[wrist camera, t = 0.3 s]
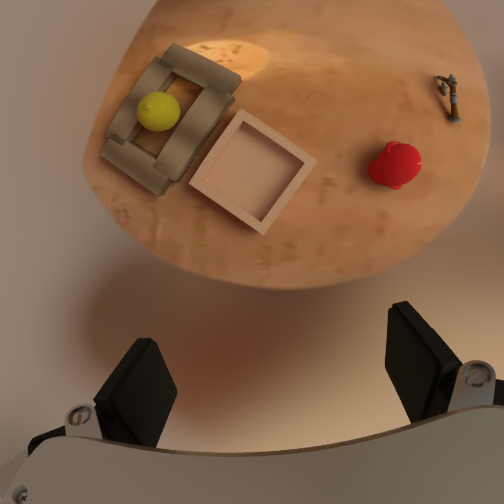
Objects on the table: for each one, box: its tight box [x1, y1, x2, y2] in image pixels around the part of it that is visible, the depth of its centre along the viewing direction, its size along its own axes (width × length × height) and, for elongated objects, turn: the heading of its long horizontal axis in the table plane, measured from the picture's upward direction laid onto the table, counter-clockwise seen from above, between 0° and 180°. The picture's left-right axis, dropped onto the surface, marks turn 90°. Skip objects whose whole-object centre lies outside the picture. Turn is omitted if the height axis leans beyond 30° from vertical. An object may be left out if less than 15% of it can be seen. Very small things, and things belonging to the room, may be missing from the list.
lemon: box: [137, 92, 180, 132], centre depth 32 cm, size 6×6×8 cm
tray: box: [189, 109, 318, 235], centre depth 36 cm, size 12×12×3 cm
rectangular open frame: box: [100, 43, 242, 196], centre depth 34 cm, size 20×14×2 cm
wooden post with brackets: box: [437, 74, 461, 122], centre depth 30 cm, size 2×8×4 cm, turn 19°
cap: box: [368, 141, 422, 189], centre depth 33 cm, size 8×6×6 cm
